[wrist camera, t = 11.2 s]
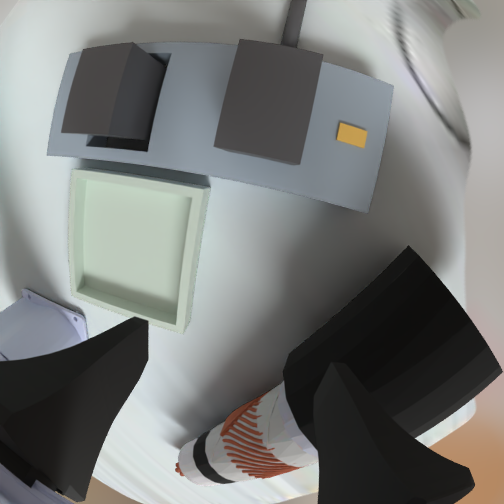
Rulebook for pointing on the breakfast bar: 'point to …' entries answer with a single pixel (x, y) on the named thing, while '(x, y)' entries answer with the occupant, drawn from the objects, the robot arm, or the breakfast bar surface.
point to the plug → (114, 93)
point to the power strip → (202, 121)
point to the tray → (135, 244)
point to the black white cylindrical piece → (365, 369)
